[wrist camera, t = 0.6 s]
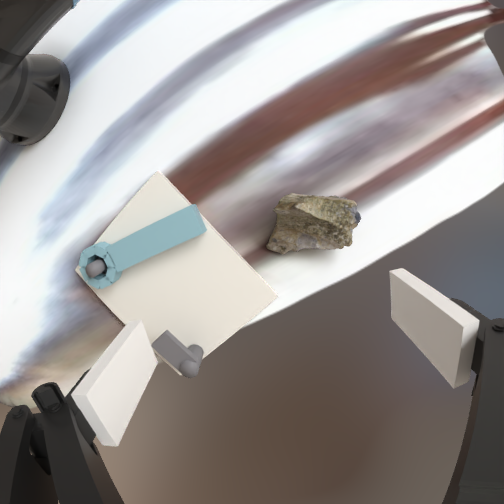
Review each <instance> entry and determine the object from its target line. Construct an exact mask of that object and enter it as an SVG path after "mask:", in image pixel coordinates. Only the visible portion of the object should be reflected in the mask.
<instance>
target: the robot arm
mask: <svg viewBox="0 0 504 504" xmlns="http://www.w3.org/2000/svg"><path fill="white" fill-rule="evenodd" d="M79 1H80V0H0V136H1V137H3V138H4V139H5V140H7V141H8V142H10V143H13V144H18V145H30V144H34V143H36V142H38V141H39V140H41V139H42V138H43V137H45V136H46V135H47V134H48V133H49V132H50V131H51V129H52V128H53V127H54V126H55V124H56V123H57V121H58V120H59V118H60V116H61V114H62V112H63V110H64V107H65V105H66V102H67V99H68V94H69V89H70V76H69V72H68V69H67V67H66V65H65V64H64V63H63V62H62V61H61V60H59V59H57V58H55V57H54V56H51V55H47V54H28V53H29V52H30V51H31V50H32V49H33V48H34V47H35V45H36V44H37V43H38V42H39V41H40V40H41V39H42V38H43V37H44V35H45V34H46V33H47V32H48V31H49V30H50V29H51V28H52V27H53V26H54V25H55V24H56V23H57V22H58V21H59V20H60V19H61V18H62V17H63V16H64V15H65V14H66V13H67V12H68V11H70V10H71V9H73V8H75V6H76V4H77V3H78V2H79ZM390 287H391V312H392V319H393V321H395V323H396V324H397V325H398V326H399V327H400V328H401V329H402V330H403V331H404V332H405V334H406V335H407V336H408V337H409V338H410V339H411V340H412V341H413V342H414V343H415V345H416V346H417V347H418V348H419V349H420V350H421V351H422V352H423V354H424V355H425V356H426V357H427V358H428V359H429V360H430V362H431V363H432V364H433V365H434V366H435V367H436V368H437V370H438V371H439V372H440V373H441V374H442V375H443V377H444V378H445V379H446V380H447V381H448V382H449V384H450V385H451V386H452V387H453V388H455V387H458V386H460V385H462V384H464V383H466V382H468V381H469V377H470V373H471V369H472V370H473V371H474V372H475V373H476V374H477V375H476V379H475V384H474V387H473V391H472V396H473V397H472V402H471V407H470V412H469V417H468V422H467V426H466V430H465V434H464V438H463V442H462V446H461V450H460V453H459V457H458V460H457V463H456V466H455V470H454V472H453V476H452V478H451V481H450V485H449V487H448V490H447V492H446V495H445V498H444V500H443V502H442V504H504V319H501V318H498V319H493V320H489V319H488V318H487V317H485V316H484V315H482V314H481V313H479V312H478V311H476V310H474V309H473V308H472V307H471V306H470V307H469V305H468V304H466V303H464V302H463V301H461V300H458V299H454V298H451V299H448V298H447V297H445V296H444V295H442V294H441V293H440V292H438V291H437V290H435V289H433V288H432V287H431V286H429V285H428V284H426V283H425V282H423V281H421V280H420V279H418V278H417V277H415V276H414V275H412V274H411V273H409V272H408V271H406V270H405V269H403V268H400V269H396V270H392V271H390ZM157 363H158V362H157V359H156V357H155V354H154V352H153V349H152V346H151V344H150V341H149V339H148V336H147V333H146V330H145V328H144V325H143V322H142V319H141V320H134V321H129V322H128V323H127V325H126V326H125V327H124V328H123V329H122V331H121V332H120V333H119V334H118V336H117V337H116V338H115V339H114V340H113V342H112V343H111V344H110V345H109V347H108V348H107V349H106V350H105V352H104V353H103V354H102V355H101V357H100V358H99V359H98V360H97V362H96V363H95V364H94V365H93V367H91V368H90V369H89V370H87V371H86V372H85V373H84V374H83V375H82V377H81V378H80V380H78V382H77V383H76V385H74V387H73V388H72V389H71V391H70V392H69V393H68V394H67V396H66V397H64V396H63V394H62V392H61V390H60V388H59V387H58V385H57V383H54V382H49V383H45V384H43V385H41V386H39V387H37V388H36V389H35V390H34V391H33V393H32V396H31V397H32V398H33V400H34V402H35V403H36V405H37V407H38V408H39V410H40V411H41V413H36V414H32V412H31V411H30V409H29V408H28V406H26V405H19V406H15V407H14V408H12V409H11V411H10V412H9V413H8V414H7V416H6V419H5V422H4V425H3V428H2V431H1V433H0V504H58V500H59V503H60V504H124V502H123V500H122V498H121V496H120V495H119V493H118V491H117V489H116V487H115V485H114V483H113V481H112V479H111V478H110V475H109V473H108V471H107V469H106V467H105V465H104V462H103V460H102V458H101V456H100V453H99V451H98V449H97V447H96V445H95V444H94V443H93V440H94V438H95V436H97V438H98V439H99V441H100V442H101V443H102V445H107V446H118V445H119V443H120V440H121V438H122V436H123V434H124V432H125V430H126V427H127V425H128V423H129V421H130V419H131V417H132V415H133V413H134V411H135V409H136V406H137V404H138V402H139V400H140V398H141V396H142V394H143V392H144V390H145V388H146V386H147V383H148V382H149V380H150V378H151V375H152V373H153V371H154V369H155V367H156V365H157ZM31 454H32V455H31Z"/></svg>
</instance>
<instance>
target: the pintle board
mask: <svg viewBox="0 0 504 504" xmlns="http://www.w3.org/2000/svg"><path fill="white" fill-rule="evenodd" d="M190 205H192V204H191V203H190V202H189V201H188V200H187V199H186V198H185V197H184V196H183V195H182V194H181V193H180V192H179V191H178V190H177V188H176V187H175V186H174V185H173V184H172V183H171V182H170V181H169V180H168V179H167V178H166V177H165V176H164V175H163V174H162V173H161V172H160V171H157V172H156V173H155V174H154V175H153V176H152V177H151V178H150V179H149V180H148V181H147V182H146V183H145V185H144V186H143V187H142V188H141V189H140V190H139V191H138V192H137V193H136V195H135V196H134V197H133V198H132V199H131V200H130V201H129V203H128V204H127V205H126V206H125V207H124V208H123V210H122V211H121V212H120V213H119V214H118V215H117V217H116V218H115V219H114V220H113V221H112V223H111V224H110V225H109V226H108V228H107V229H106V230H105V231H104V233H103V234H102V235H101V236H100V238H99V239H98V240H97V241H96V243H95V244H97V243H99V242H106V243H109V244H113V243H115V242H117V241H119V240H121V239H123V238H125V237H127V236H129V235H131V234H133V233H135V232H136V231H138V230H140V229H142V228H144V227H146V226H148V225H150V224H152V223H155V222H157V221H159V220H161V219H163V218H165V217H167V216H169V215H171V214H173V213H175V212H177V211H179V210H181V209H184V208H186V207H188V206H190ZM200 215H201V214H200ZM201 217H202V220H203V222H204V224H205V226H206V229H207V231H206V232H204V233H203V234H201V235H198V236H196V237H194V238H192V239H189V240H187V241H185V242H183V243H180V244H178V245H176V246H174V247H172V248H169V249H167V250H165V251H163V252H161V253H158V254H156V255H154V256H152V257H150V258H148V259H145V260H143V261H141V262H139V263H137V264H135V265H133V266H130V267H128V268H126V269H124V270H122V274H121V277H120V278H119V280H117V281H116V282H114V283H113V284H112V285H110V286H107V287H105V288H103V289H97V288H95V287H93V286H91V285H89V284H87V285H88V286H89V287H90V288H91V289H92V290H93V291H94V292H95V293H96V295H97V296H98V297H99V298H100V299H101V300H102V301H103V302H104V303H105V304H106V305H107V306H108V307H109V309H110V310H111V311H112V312H113V313H114V314H115V315H116V316H117V317H118V318H119V319H120V320H121V321H122V322H123V323H124V324H125V325H127V323H128V322H129V321H134V320H141V319H142V322H143V325H144V328H145V330H146V333H147V336H148V339H149V341H150V344H151V346H152V349H153V352H154V353H155V354H156V355H158V356H159V357H160V358H161V359H162V360H163V361H164V362H165V363H166V364H168V365H169V366H170V367H171V368H172V369H173V370H175V371H176V372H177V373H178V374H179V375H180V376H181V375H184V376H185V377H188V378H191V377H195V376H196V375H197V374H198V371H199V367H200V364H201V361H202V359H203V358H204V357H206V356H207V355H208V354H209V353H211V352H212V351H213V350H214V349H216V348H217V347H218V346H219V345H220V344H222V343H223V342H224V341H226V340H227V339H228V338H229V337H230V336H232V335H233V334H234V333H235V332H237V331H238V330H239V329H240V328H241V327H243V326H244V325H245V324H246V323H247V322H249V321H250V320H251V319H252V318H253V317H255V316H256V315H257V314H258V313H259V312H261V311H262V310H263V309H264V308H265V307H266V306H268V305H269V304H270V303H271V302H272V301H274V300H275V299H276V298H277V297H278V294H277V293H276V292H275V290H274V289H273V288H272V287H271V286H270V285H269V284H268V283H267V282H266V281H265V280H264V279H263V278H262V277H261V276H260V275H259V274H258V273H257V272H256V271H255V270H254V269H253V268H252V267H251V266H250V265H249V264H248V263H247V262H246V261H245V260H244V258H243V257H242V256H241V255H240V254H239V253H238V252H237V251H236V250H235V249H234V248H233V247H232V246H231V245H230V244H229V243H228V242H227V241H226V240H225V239H224V238H223V237H222V236H221V235H220V234H219V233H218V231H217V230H216V229H215V228H214V227H213V226H212V225H211V224H210V223H209V222H208V221H207V220H206V219H205V218H204V217H203V216H202V215H201ZM80 268H81V267H80V266H79V265H78V267H77V268H76V269H75V271H76V272H77V273H78V274H79V275H80V277H81V278H82V279H83V280H84V278H83V276H82V274H81V272H80V270H79V269H80ZM107 269H108V267H107V265H106V263H105V261H104V259H103V258H101V257H99V256H97V255H96V260H95V261H93V262H91V263H90V264H88V265H87V266H86V268H85V271H86V274H87V275H88V276H89V277H91V278H94V277H95V276H97V275H99V274H100V273H103V274H105V275H106V273H107ZM84 281H85V280H84ZM87 281H88V280H87ZM87 281H85V282H86V283H87Z"/></svg>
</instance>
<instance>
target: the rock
mask: <svg viewBox="0 0 504 504" xmlns="http://www.w3.org/2000/svg"><path fill="white" fill-rule="evenodd" d="M357 206H358V205H357V203H356V202H355V201H353V200H349V199H347V198H343V197H341V198H339V197H337V196H330V197H324V196H316V195H315V196H314V195H312V196H309V195H301V194H294V193H291V194H290V195H286V196H284V197H283V198H281V199H280V201H279V203H278V205H277V206H276V207H275V208H274V210H273V211H274V212H276V213H277V222H276V224H277V225H276V226H275V229H274V230H273V232H272V234H271V236H270V240H269V243H268V244H267V246H266V248H268V249H269V250H273V251H276V252H279V253H281V254H285V253H287V252H288V251H290V250H293V251H296V252H297V251H299V250H301V249H303V248H310V249H314V248H320V249H323V250H324V249H328V250H330V249H336V248H339V249H342V248H343V247H344V246H350V245H351V244H352V229H354V228H355V227H356V226H357V225H358V223H359V222H360V219H361V217H360V214H359V213H358V212H357Z"/></svg>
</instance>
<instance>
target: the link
mask: <svg viewBox="0 0 504 504" xmlns="http://www.w3.org/2000/svg"><path fill="white" fill-rule="evenodd" d="M206 231H207V229H206V226H205V224H204V222H203V220H202V217H201V215H200V213H199V211H198V208H197V206H196V204H193V205H190V206H188V207H186V208H184V209H181V210H179V211H177V212H175V213H173V214H171V215H169V216H167V217H165V218H163V219H161V220H159V221H157V222H155V223H152V224H150V225H148V226H146V227H144V228H142V229H140V230H138V231H136V232H135V233H133V234H131V235H129V236H127V237H125V238H123V239H121V240H119V241H117V242H115V243H113V244H109V243H106V242H99V243H97V244H94V245H92V246H90V247H89V248H87V249H85V250H83V252H82V253H81V257H80V262H79V266H80V267H81V268H80V269H79V270H80V272H81V274H82V276H83V278H84V280H85V281H87V280H88V281H87V284H89V285H91V286H93V287H95V288H97V289H103V288H105V287H107V286H110V285H112V284H113V283H114V282H116V281H117V280H119V278H120V277H121V274H122V270H124V269H126V268H128V267H130V266H133V265H135V264H137V263H139V262H141V261H143V260H145V259H148V258H150V257H152V256H154V255H156V254H158V253H161V252H163V251H165V250H167V249H169V248H172V247H174V246H176V245H178V244H180V243H183V242H185V241H187V240H189V239H192V238H194V237H196V236H198V235H201V234H203V233H204V232H206ZM96 255H97V256H99V257H101V258H103V259H104V261H105V263H106V265H107V267H108V269H107V273H106V275H105V274H103V273H100V274H99V275H97V276H95V277H94V278H91V277H89V276H88V275H87V274H86V271H85V268H86V266H87V265H88V264H90V263H91V262H93V261H95V260H96Z"/></svg>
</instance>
